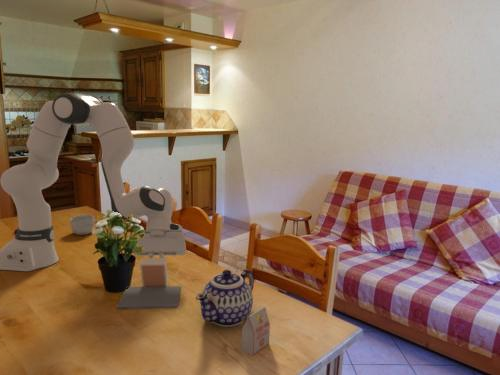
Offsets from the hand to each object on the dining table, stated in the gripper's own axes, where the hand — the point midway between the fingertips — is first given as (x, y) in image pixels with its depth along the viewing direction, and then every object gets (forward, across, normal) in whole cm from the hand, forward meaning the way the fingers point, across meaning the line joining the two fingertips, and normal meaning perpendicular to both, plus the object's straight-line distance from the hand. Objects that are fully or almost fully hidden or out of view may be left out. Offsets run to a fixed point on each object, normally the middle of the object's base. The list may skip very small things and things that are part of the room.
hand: (155, 266), depth 134 cm
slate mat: (+12, 0, -2) cm, 12 cm away
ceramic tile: (+4, 0, +5) cm, 7 cm away
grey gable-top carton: (+32, +31, -22) cm, 49 cm away
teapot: (+21, +24, -11) cm, 34 cm away
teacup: (-38, -43, +48) cm, 75 cm away
